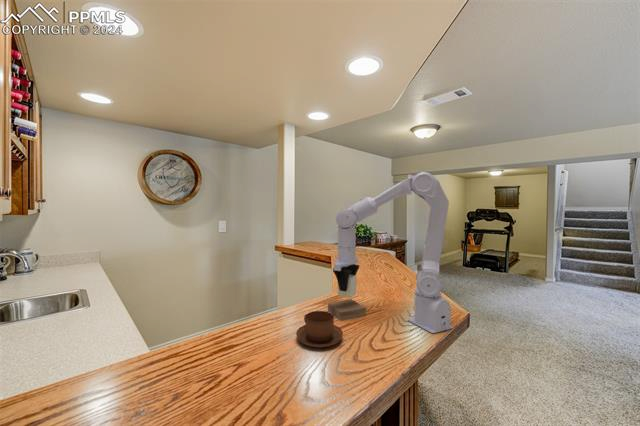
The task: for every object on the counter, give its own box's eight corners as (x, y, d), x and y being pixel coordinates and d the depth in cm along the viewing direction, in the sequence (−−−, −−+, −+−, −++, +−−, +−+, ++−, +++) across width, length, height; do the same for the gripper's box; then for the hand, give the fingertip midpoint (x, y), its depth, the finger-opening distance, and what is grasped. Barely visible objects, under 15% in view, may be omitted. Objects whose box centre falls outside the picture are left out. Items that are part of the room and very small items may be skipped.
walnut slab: (366, 317, 84) (366, 307, 84) (341, 322, 80) (341, 312, 80) (351, 307, 92) (351, 299, 92) (327, 311, 88) (327, 302, 88)
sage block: (356, 293, 87) (356, 275, 86) (350, 297, 83) (350, 278, 83) (343, 291, 89) (343, 273, 89) (337, 295, 85) (337, 276, 85)
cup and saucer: (287, 344, 66) (287, 320, 66) (310, 326, 77) (311, 304, 77) (330, 357, 60) (330, 330, 60) (349, 335, 71) (349, 312, 71)
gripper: (344, 243, 94) (344, 281, 94) (325, 248, 81) (324, 292, 82) (363, 244, 90) (363, 284, 91) (346, 250, 78) (345, 296, 78)
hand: (346, 288), depth 86 cm, fingers closed on sage block, 4 cm apart
